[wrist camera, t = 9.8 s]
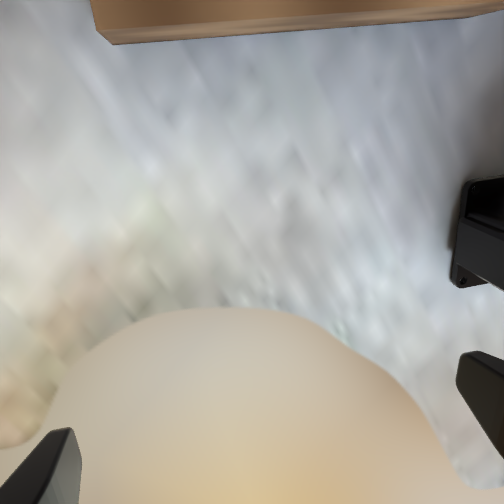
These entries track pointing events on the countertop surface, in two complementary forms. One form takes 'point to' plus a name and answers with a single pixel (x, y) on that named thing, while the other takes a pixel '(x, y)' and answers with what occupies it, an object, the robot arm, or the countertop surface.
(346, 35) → the countertop surface
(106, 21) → the tray
